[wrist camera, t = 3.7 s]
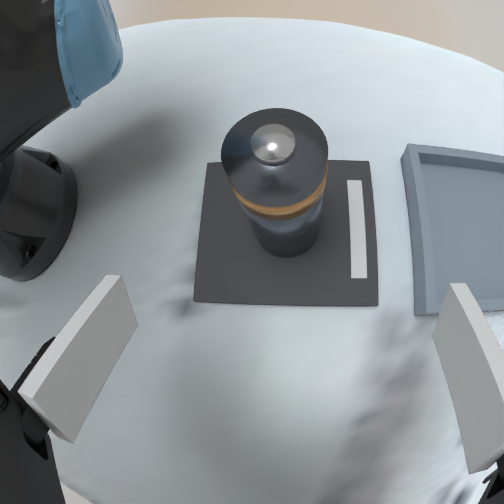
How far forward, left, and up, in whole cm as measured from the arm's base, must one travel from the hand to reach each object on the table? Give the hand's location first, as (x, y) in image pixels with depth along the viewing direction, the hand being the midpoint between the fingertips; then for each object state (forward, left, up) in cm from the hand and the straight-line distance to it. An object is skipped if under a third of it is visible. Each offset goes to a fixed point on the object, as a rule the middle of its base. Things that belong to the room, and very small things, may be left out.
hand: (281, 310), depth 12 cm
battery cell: (-1, +7, -11) cm, 14 cm away
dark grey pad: (-1, +7, -12) cm, 14 cm away
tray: (+16, +7, -12) cm, 22 cm away
